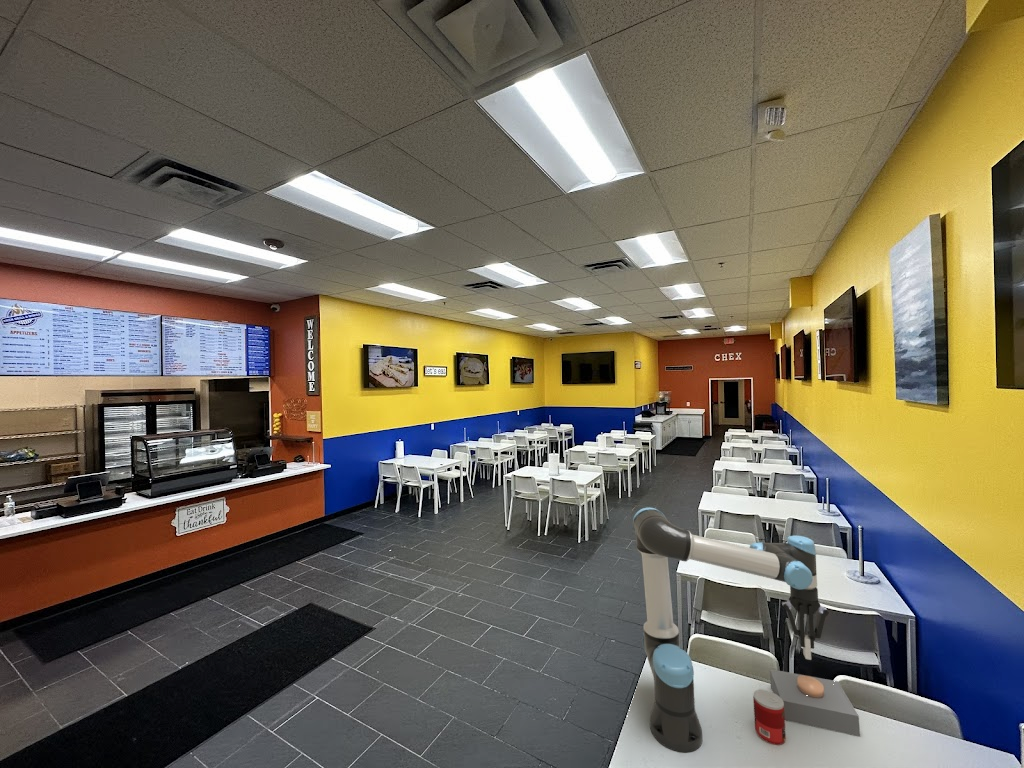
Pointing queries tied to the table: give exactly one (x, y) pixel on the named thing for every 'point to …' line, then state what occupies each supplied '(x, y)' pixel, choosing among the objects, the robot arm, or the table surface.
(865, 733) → the table surface
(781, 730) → the canned food
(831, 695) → the control box
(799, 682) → the knob
